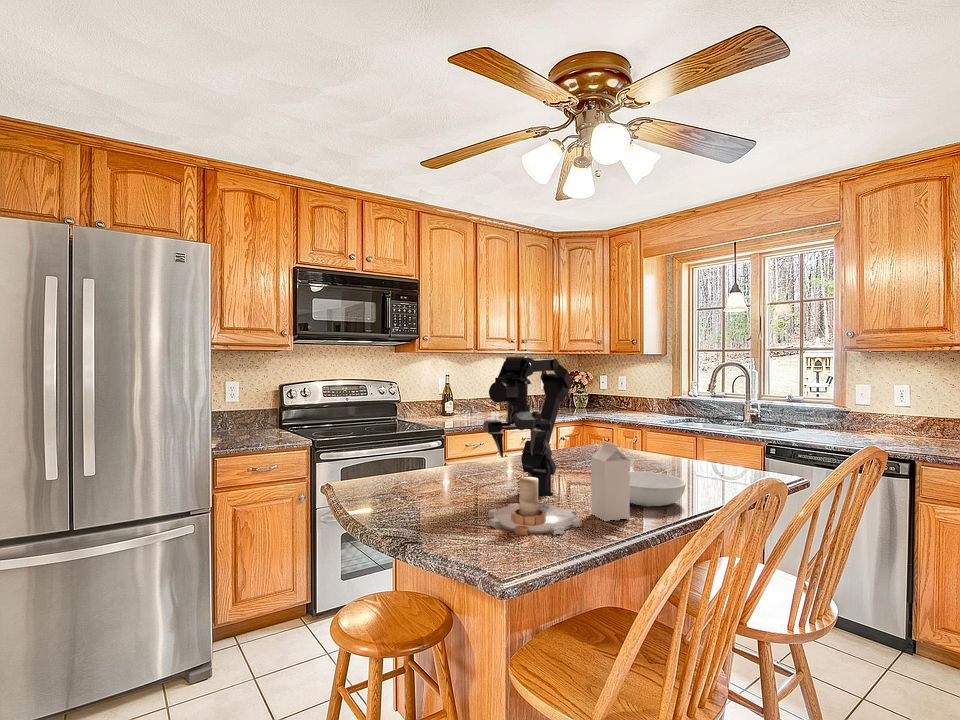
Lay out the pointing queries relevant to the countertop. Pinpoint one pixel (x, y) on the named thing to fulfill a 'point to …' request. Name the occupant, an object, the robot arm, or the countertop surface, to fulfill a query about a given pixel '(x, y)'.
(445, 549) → the countertop surface
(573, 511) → the sprocket wheel
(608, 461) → the milk carton
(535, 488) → the drive pin
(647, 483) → the serving bowl
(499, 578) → the countertop surface
